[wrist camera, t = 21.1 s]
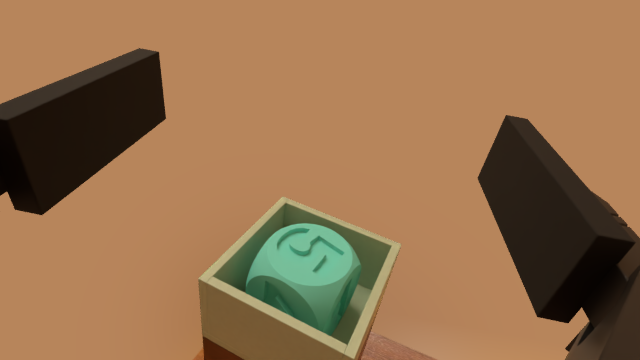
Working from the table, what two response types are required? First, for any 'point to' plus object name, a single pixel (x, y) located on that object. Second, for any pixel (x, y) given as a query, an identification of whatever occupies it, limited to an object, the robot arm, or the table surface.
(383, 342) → the table surface
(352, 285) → the decorative dice
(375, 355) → the table surface
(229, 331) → the bin
